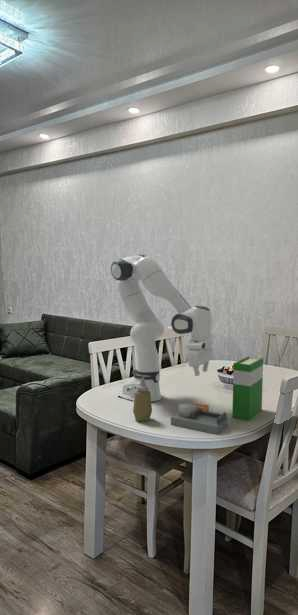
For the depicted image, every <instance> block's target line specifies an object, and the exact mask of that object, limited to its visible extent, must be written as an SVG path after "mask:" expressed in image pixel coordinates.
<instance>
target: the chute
mask: <svg viewBox="0 0 298 615" xmlns="http://www.w3.org/2000/svg"><path fill="white" fill-rule="evenodd" d="M191 404H194V405H195V406H196V410H197V409H198V408H201V411H207V412H210V410H209V409H210V404H205V403H199V402H194V401H192V402H191Z"/></svg>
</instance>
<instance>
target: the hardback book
mask: <svg viewBox="0 0 298 615" xmlns="http://www.w3.org/2000/svg"><path fill="white" fill-rule="evenodd" d="M263 371H264V357H263V358H259V359H257V358H250V356H246V357H243V358H241V359H239V360H237V361H235V362H234V363H233V376H232V377H233V378H232V379H233V380H232V415H231V417H232V418H233V419H236V420H241V421H246V422H250V421H251V420H253V418H255V416H257V415H258V414H259V413H260V412H261V411H262V410H263V409H262V407H263V378H264V375H263ZM256 414H257V415H256Z"/></svg>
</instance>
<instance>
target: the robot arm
mask: <svg viewBox="0 0 298 615" xmlns="http://www.w3.org/2000/svg"><path fill="white" fill-rule="evenodd" d="M110 272H111V273H110V274H111V275H112V277H113V279H115V280H116V282H117V283H116V286H117V290H118V291H117V292H119V297H120V300H121V301H122V304H123V305H124V306H123V307H124V308H125V310H126V313H127V314H128V316H129V317H130V318H131V319H132V320H133V321H134V322H135V323H136V324H135V325H133V326H132V327H131V329H130V333H129V336H130V339H131V341H132V342H133V344H134V347H135V353H136V369H134V370H133V371H132V373H131V374H133V376H132V377H131V378H129V379H128V380H127V381H125V383H124V384H123V385H122V390H121V391H120V392H118V393H117V397H118V396H120V397H122V398H121V399H124V398H125V400H127V399H129V400H128V401H131V400H132V402H134V398H135V392H136V391H137V386H139V385H140V382H141V378H144V379H145V384H146V385H147V386H148V391H149V392H150V394H151V402H157V401H160V400H161V399H162V398H163V396H162V392H161V388H160V376H161V375H160V374H161V373H160V371H161V370H160V369H159V368H160V355H159V353H158V350H157V346H156V341H158V340H160V339H161V338H162V337H163V335H164V333H165V326H164V324H163V322H161V321H160V320H159V319H158V318H157V315H155V313H154V312H153V310H152V309H151V307H150V306H149V303H148V301H147V299H146V297H145V295H144V293H143V291H142V288H141V286H140V284H139V281H141V283H142V284H143V286H144V287H145V289H146V290H147V292H149V293H150V294H151V295H152V296H154V297H157V298H161V299H163V300H166V301H167V302H169V303H170V304H171V306H172V307H173V308H174V309H175V310H176V312H177V314H174V315H173V317H172V318H171V323H170V325H171V328H172V330H173V332H174V333H176V334H179V335H186V334H191V338H190V341H189V342H188V343H187V349H188V352H187V353H188V354H187V357H188V365H189V367H192V368H193V371H194V376H195V377H199V376H200V366H202V365H203V367H202V372H203V373H204V372H205V373H206V372H208V367H209V364H210V363H209V362H210V361H212V360H213V356H214V355H213V345H212V338H213V337H212V336H213V335H212V332H211V330H212V326H213V324H212V322H213V321H212V319H213V318H212V312H211V310H210V308H208V307H207V306H202V305H194V306H192V307H191V305H190V304H189V303H188V301H187V300H186V298H184V297H183V295H182V294H181V293H180V292H179V291H178V289H177V288H176V287H175V286H174V284H172V282H171V280H170V279H169V278H168V276H167V275H166V273H165V272H164V271H163V269H162V267H161V266H160V265H159V264H158V263H157V262H156V261H155V259H154V258H152V257H151V256H149V255H144V254H137V255H136V254H135V255H129V256H126V257H123V258H117V259H116V260H115V261H113V262H112V264H111V265H110ZM120 397H119V398H120Z"/></svg>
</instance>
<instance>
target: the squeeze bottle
mask: <svg viewBox="0 0 298 615" xmlns="http://www.w3.org/2000/svg"><path fill="white" fill-rule="evenodd" d="M152 407H153V405H152V401H151V394H150V392H149V391H148V386H147V385H146V384H145V379H144V378H141V382H140V385H139V386H137V391H136V392H135V398H134V401H133V408H132V411H133V415H134V419H135V420H136V421H137V422H149V420H150V418H151V415H152V412H153V409H152Z"/></svg>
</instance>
